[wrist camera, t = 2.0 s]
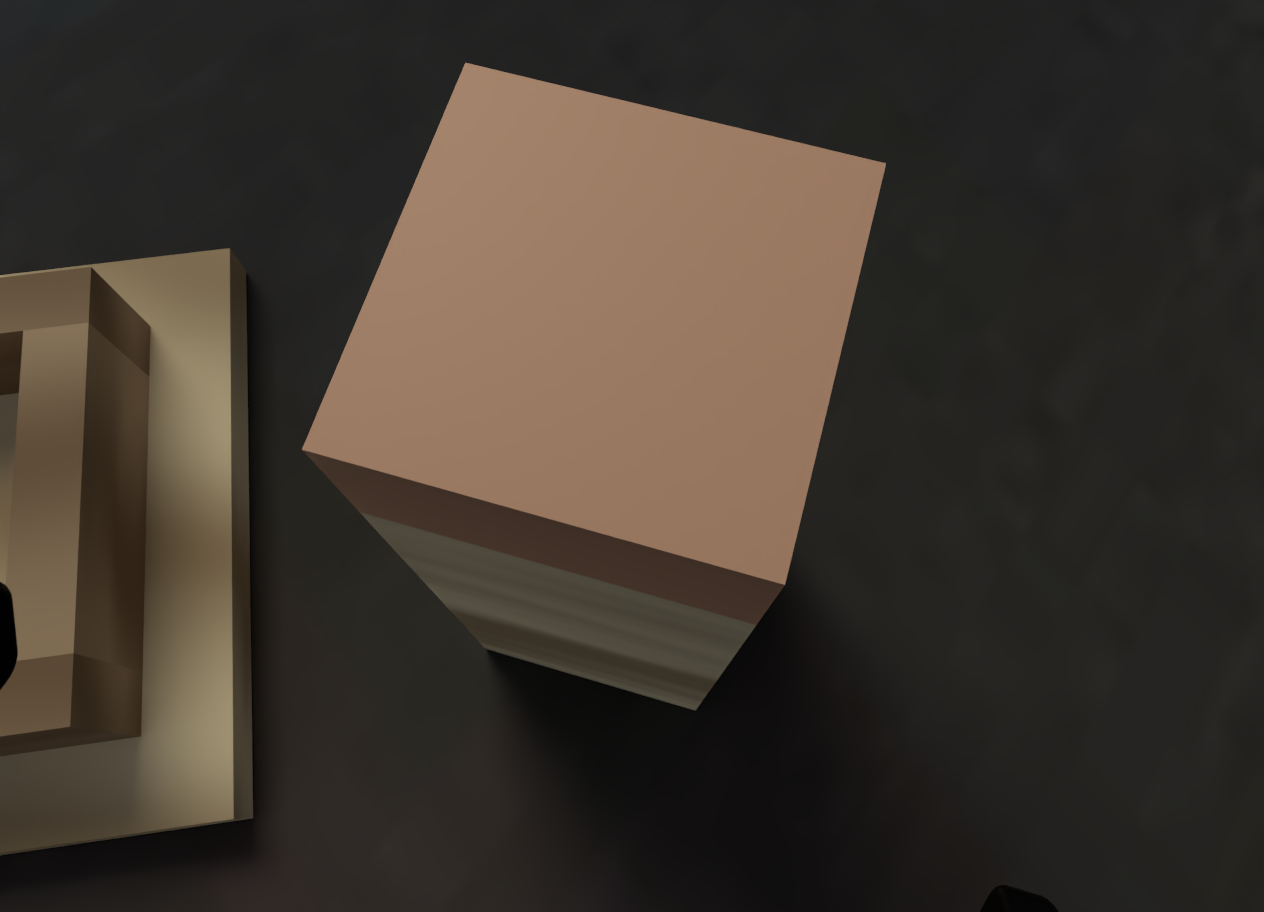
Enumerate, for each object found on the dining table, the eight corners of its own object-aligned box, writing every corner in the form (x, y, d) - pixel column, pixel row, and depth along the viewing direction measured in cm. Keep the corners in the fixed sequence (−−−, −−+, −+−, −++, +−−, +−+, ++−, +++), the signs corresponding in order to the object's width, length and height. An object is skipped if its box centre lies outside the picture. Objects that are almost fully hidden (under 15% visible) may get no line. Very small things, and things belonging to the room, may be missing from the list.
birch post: (695, 710, 20) (785, 584, 8) (485, 648, 20) (301, 449, 9) (748, 506, 21) (885, 163, 10) (551, 452, 22) (464, 62, 10)
